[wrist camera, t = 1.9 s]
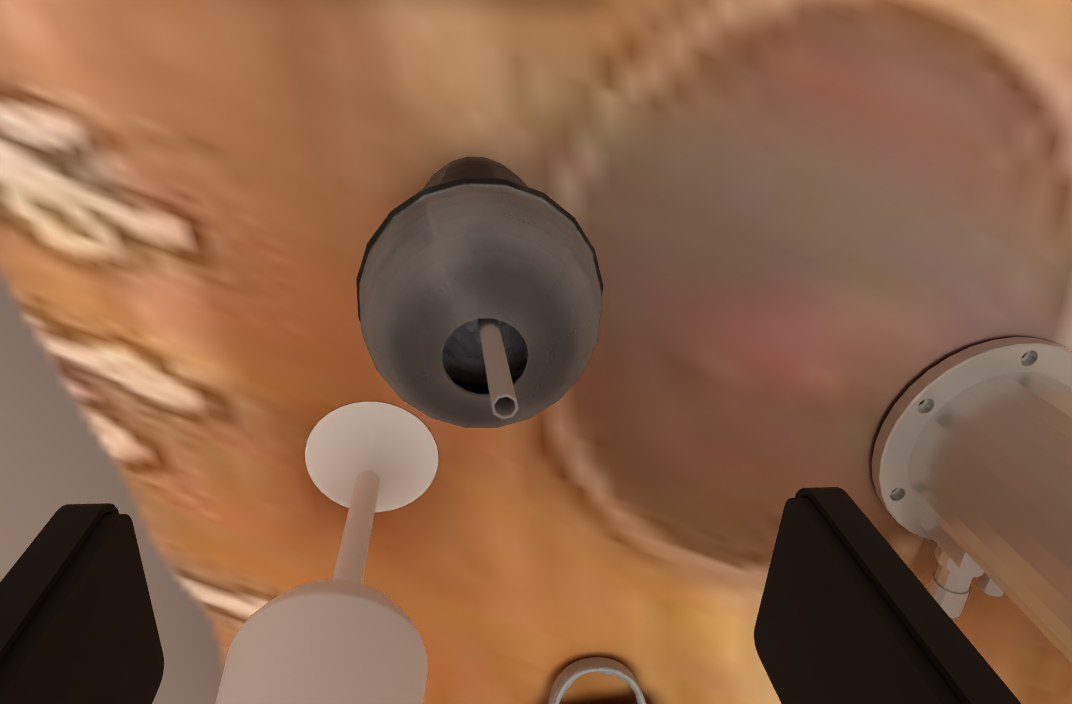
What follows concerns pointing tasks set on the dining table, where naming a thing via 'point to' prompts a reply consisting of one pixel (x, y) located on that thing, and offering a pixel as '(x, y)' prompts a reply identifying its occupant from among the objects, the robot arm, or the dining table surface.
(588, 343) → the beverage cup
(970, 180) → the dining table surface
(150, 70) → the dining table surface
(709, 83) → the dining table surface
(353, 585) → the champagne flute
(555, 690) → the ceramic mug
